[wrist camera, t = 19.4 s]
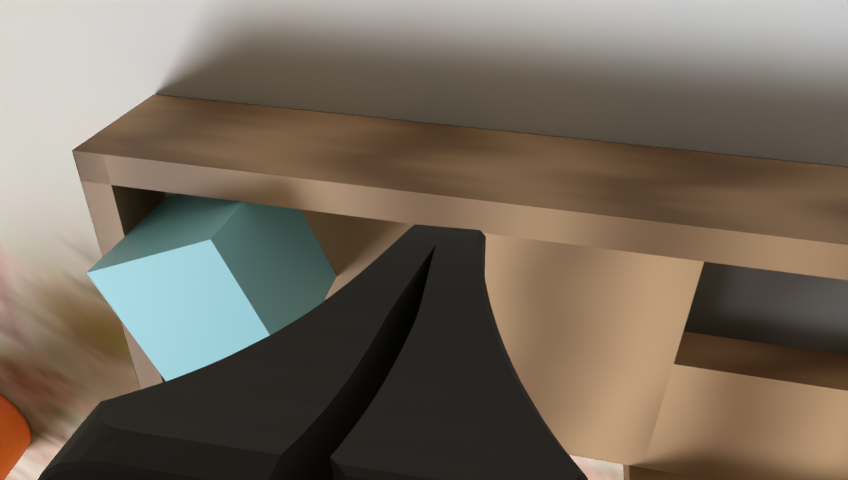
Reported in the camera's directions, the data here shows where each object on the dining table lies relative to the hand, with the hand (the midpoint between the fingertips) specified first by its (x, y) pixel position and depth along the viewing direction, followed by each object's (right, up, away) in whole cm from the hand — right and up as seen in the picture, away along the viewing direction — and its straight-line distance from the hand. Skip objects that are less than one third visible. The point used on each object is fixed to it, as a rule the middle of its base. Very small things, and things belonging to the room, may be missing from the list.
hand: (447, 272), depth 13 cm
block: (-6, +1, +11) cm, 13 cm away
